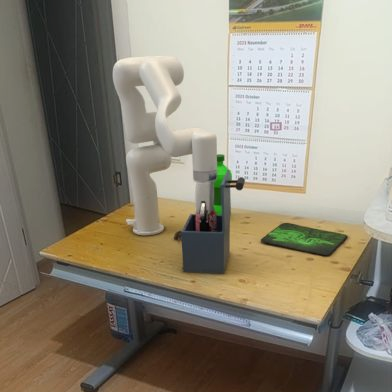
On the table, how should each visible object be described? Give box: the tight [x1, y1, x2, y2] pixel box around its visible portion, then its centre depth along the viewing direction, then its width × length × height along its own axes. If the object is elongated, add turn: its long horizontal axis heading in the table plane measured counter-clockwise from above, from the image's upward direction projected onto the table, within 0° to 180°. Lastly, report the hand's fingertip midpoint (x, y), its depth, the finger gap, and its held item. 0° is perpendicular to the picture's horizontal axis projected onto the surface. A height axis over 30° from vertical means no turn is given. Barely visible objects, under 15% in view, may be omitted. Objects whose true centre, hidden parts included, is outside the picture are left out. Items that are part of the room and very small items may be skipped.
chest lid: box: [221, 169, 246, 232], centre depth 150 cm, size 15×17×6 cm
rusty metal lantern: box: [173, 230, 182, 242], centre depth 178 cm, size 7×13×10 cm
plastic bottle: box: [213, 153, 233, 215], centre depth 194 cm, size 10×10×25 cm
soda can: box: [195, 207, 217, 232], centre depth 157 cm, size 7×7×12 cm
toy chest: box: [180, 213, 231, 275], centre depth 160 cm, size 14×17×14 cm
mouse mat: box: [260, 222, 348, 257], centre depth 177 cm, size 27×22×1 cm
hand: (206, 229), depth 158 cm, fingers closed on soda can, 7 cm apart
